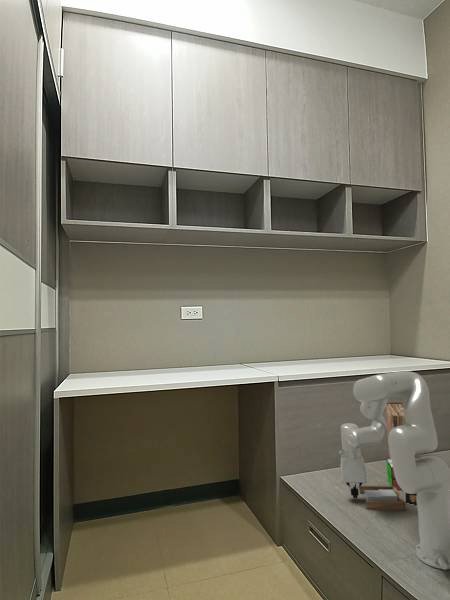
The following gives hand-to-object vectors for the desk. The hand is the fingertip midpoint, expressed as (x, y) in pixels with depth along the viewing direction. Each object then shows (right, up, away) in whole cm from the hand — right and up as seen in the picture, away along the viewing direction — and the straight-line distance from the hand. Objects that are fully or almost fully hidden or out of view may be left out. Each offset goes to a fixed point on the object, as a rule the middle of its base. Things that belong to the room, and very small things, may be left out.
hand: (355, 496), depth 161 cm
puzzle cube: (+25, -1, +11) cm, 28 cm away
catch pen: (+11, -1, -2) cm, 11 cm away
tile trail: (+7, -1, -2) cm, 8 cm away
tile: (+14, -1, -2) cm, 14 cm away
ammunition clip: (+24, 0, -7) cm, 25 cm away
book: (+34, -1, +30) cm, 45 cm away
